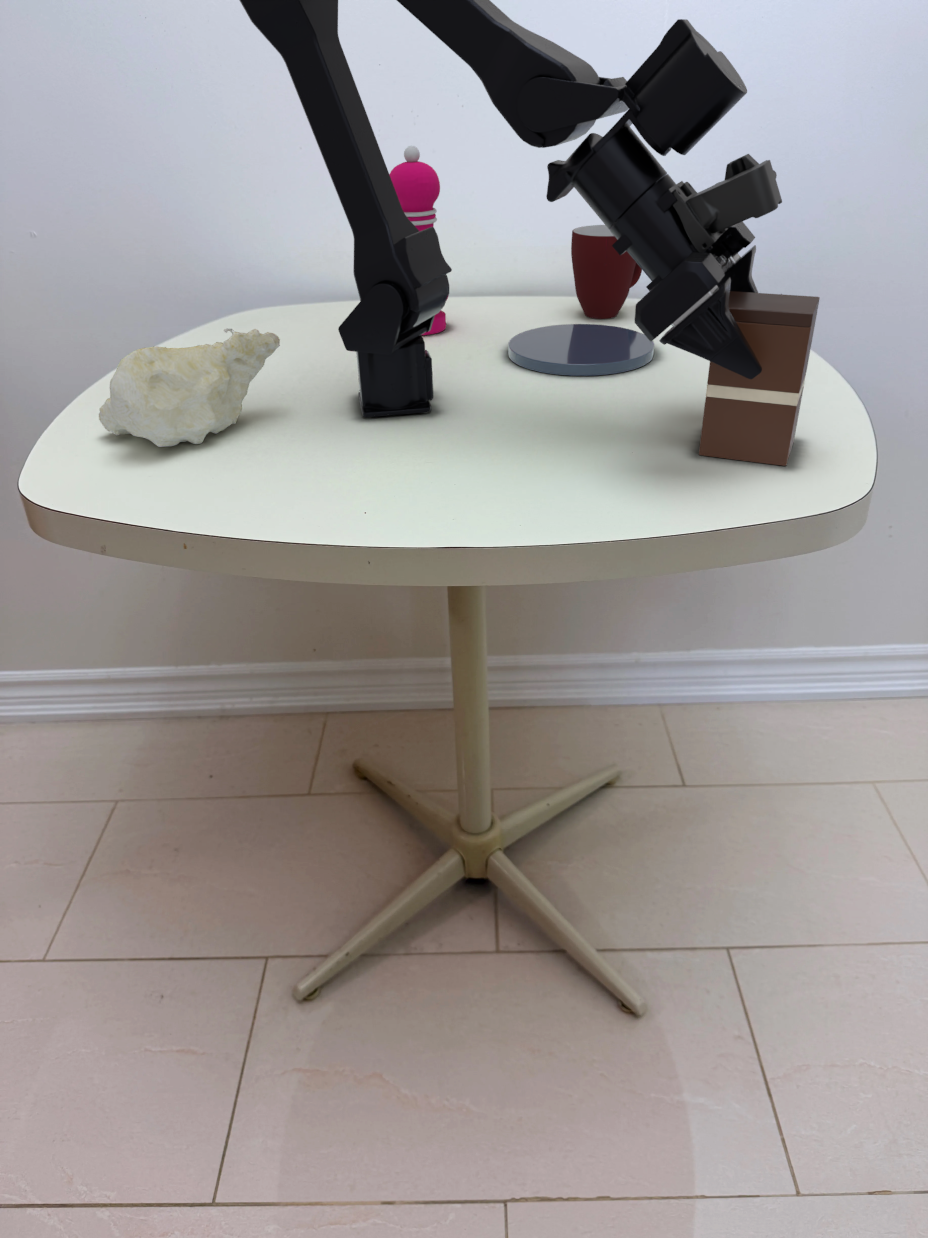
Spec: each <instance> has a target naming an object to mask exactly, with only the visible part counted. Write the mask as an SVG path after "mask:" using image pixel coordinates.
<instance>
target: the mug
mask: <svg viewBox="0 0 928 1238" xmlns="http://www.w3.org/2000/svg"><path fill="white" fill-rule="evenodd" d="M616 241H617V239H616V237H615V236H614V235H613V234H612V233H611V231H610V230H609V229H608V228H607V226H606V225H605V224H593V225H592V224H591V225H583V226H579V227H576V228H573V229H571V241H570V242H571V245H570V256H571V265H572V272H573V281H574V289H575V293H576V298H577V301H578V303H579V305H580V307H581V310H582V311H583V314H584V316H585V317H586V318H589V319H595V320H608V319H609V320H610V319H614V318H615V317H617V316H618V315H619V313H620V311H621V310H622V308H623V306H624V304H625V302H626V300H627V298H628V297H629V293H630V290H631V288H633V287H634V286H635V285H636V284H637V283H638V282H639V280H640V278H641V275H642V273H643V270H642V269H641V268H640V266H639V265H638V264H637V263H636V262H635V260H634V259H633V258H632V257H631V256H630V254H629V253H628V252H627V251H626V252H624V253H623V254H622V255H619V254H618V253H617V251H616V250H615V249H614V248H613V247H612V245H613V244H614V243H615V242H616Z"/></svg>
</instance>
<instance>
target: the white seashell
mask: <svg viewBox="0 0 928 1238" xmlns="http://www.w3.org/2000/svg"><path fill="white" fill-rule="evenodd" d="M223 332H224V333H225V334H226V333H228V332H230V333H231V336H230V337H229V338H227V339H226V340H224V341H223V342H220V341H216V342H215V343H214V344H208V343H205V344H199V345H194V346H189V347H167V346H165V347H164V346H155V345H154V346H151V347H142V348H138V349H135V350H133V351H131V352H130V353H128V354H127V355H126V356H124V357H123V358H122V359H120V361H119V363H118V365H117V367H116V371H115V372H114V373H113V375H112V377H111V379H110V381H109V396H110V397H109V398H107V399H106V400H105V401H104V404H102V405H101V406H100V407H99V409H98V410H99V413H98V420H99V422H100V424H101V425H102V426H103V428H104V430H106V431H107V432H110V433H112V434H114V435H115V436H119V435H132V436H133V437H138V438H144V439H146V440H148V441H150V442H152V444H154V445H155V446H156V447H158V448H161V447H175V446H177V445H179V444H180V443H185V442H189V443H190V444H194V445H199V444H200V445H201V444H203V442H204V440H205V438H206V436H207V435H208V434H209V433H213V434H214V435H215V434H219V433H220V432H224V431H225V430H226V429H227V428H228V427H230V426H231V425H236V424H237V422H238V418H239V417H240V415H241V413H242V410H243V401H244V400H245V398H246V396H247V395H248V390H249V388H250V387H249V386H250V384H251V382H252V381H253V380H255V378H256V376H257V375H258V373H260V371H261V370H262V369H263V368H264V366H265V363H266V361H267V358H269V357H271V356H272V355H273V354H274V353H275V351H276V350H277V349H278V348H279V347H280V346H281V344H280V343H281V339H280V337H279V335H277V334H275V333H274V332H270V331H267V332H264V333H261V332H260V330H259V329H258V328H253V329H252V330H250V331H248V332H246V333H245V332H238V331H235V330H234V329H233V328H224V329H223Z"/></svg>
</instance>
